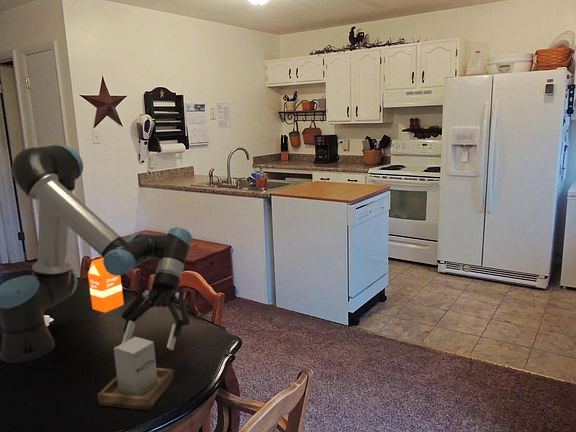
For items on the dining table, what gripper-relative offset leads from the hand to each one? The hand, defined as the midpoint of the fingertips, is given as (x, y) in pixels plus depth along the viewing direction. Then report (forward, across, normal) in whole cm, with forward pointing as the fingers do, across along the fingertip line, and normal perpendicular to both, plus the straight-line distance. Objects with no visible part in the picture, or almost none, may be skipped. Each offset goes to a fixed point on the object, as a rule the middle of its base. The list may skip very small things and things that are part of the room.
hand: (147, 346), depth 126 cm
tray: (+11, 0, -2) cm, 11 cm away
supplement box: (+11, 0, -2) cm, 11 cm away
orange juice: (-24, +43, -38) cm, 62 cm away
